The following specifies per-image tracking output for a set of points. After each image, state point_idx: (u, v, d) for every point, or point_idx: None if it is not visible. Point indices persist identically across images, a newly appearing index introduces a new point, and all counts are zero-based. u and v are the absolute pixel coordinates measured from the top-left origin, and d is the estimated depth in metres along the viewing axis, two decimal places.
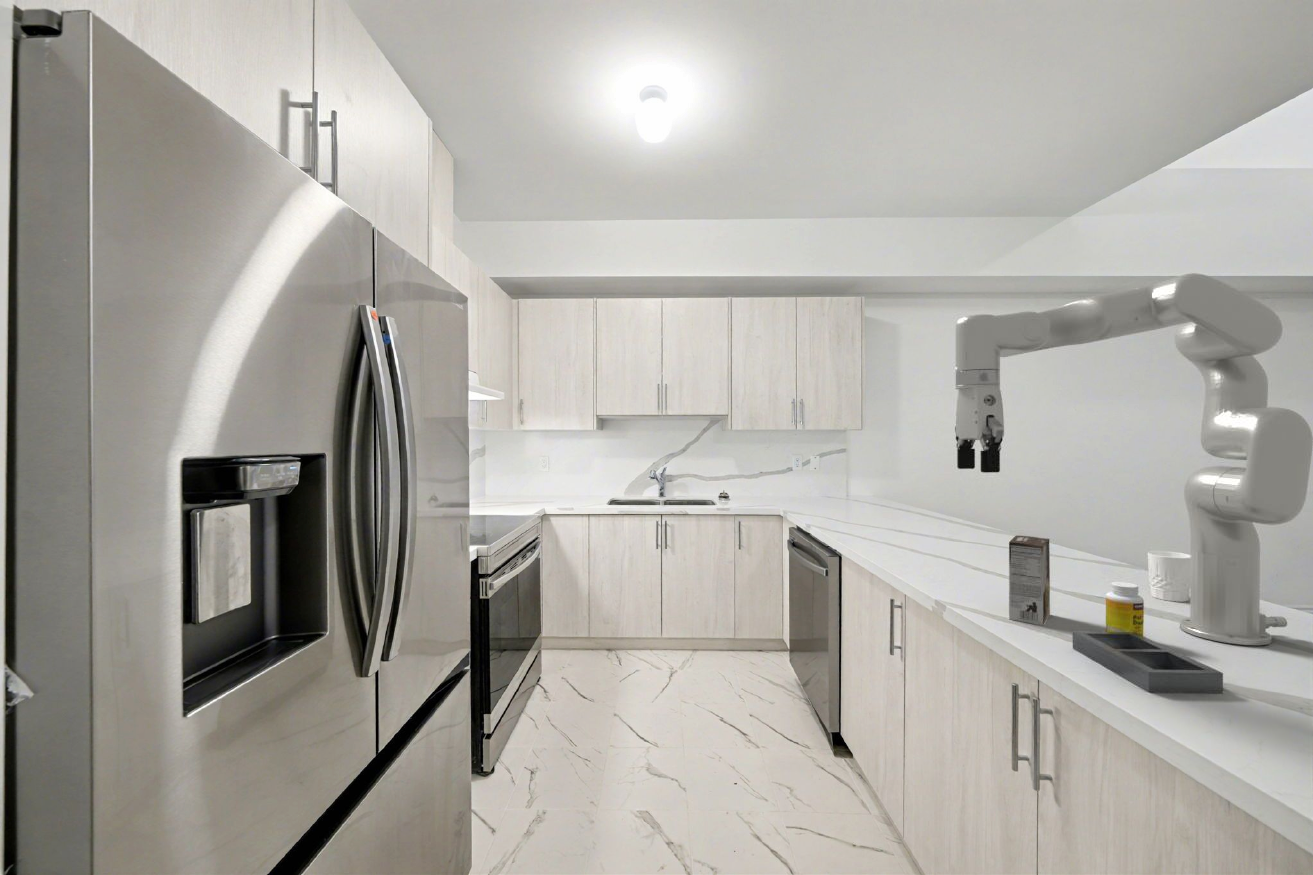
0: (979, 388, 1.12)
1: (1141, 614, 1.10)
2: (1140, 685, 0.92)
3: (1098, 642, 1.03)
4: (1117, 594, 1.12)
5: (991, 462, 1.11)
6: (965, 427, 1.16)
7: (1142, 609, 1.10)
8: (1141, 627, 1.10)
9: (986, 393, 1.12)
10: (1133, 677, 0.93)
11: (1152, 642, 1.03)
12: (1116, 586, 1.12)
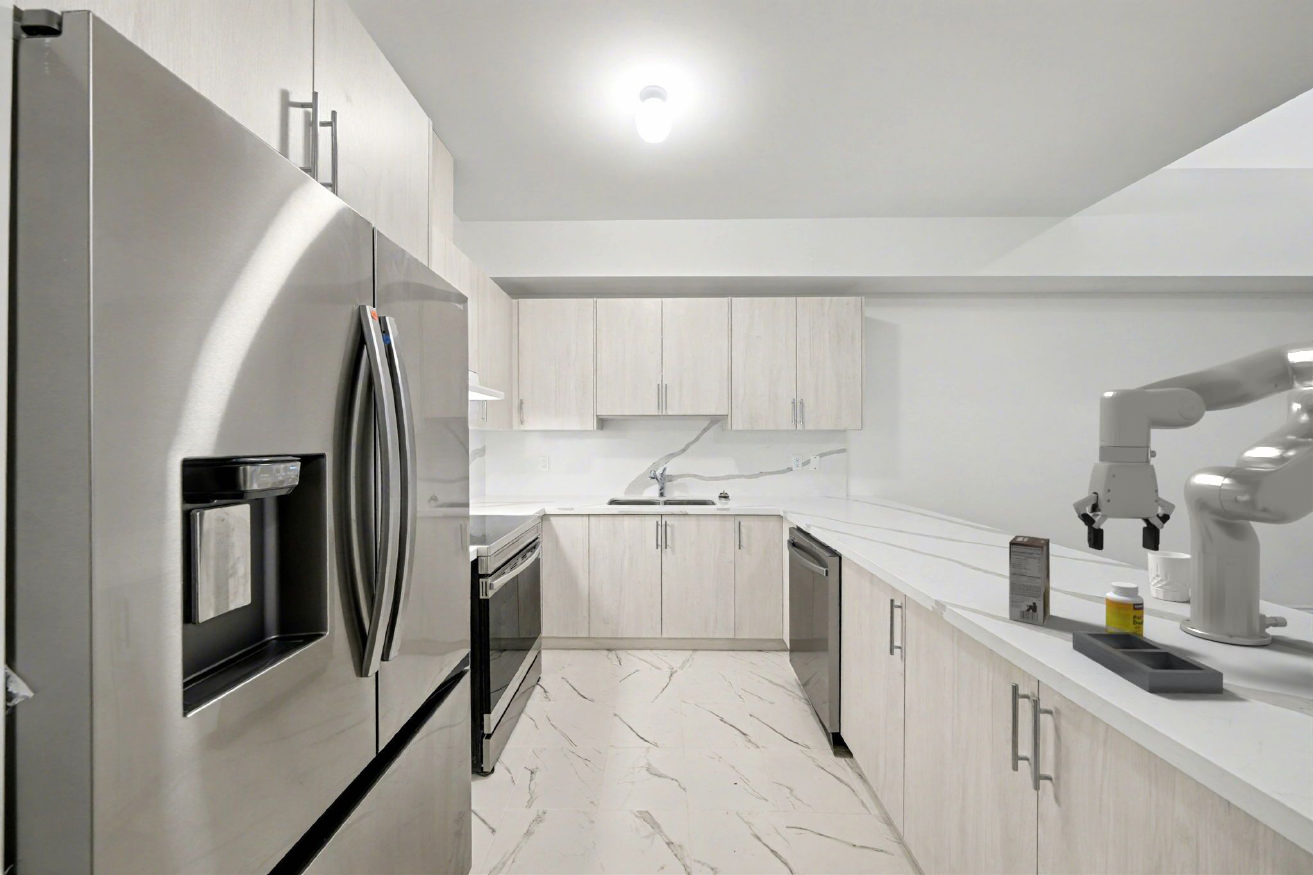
0: (1153, 466, 1.10)
1: (1141, 614, 1.10)
2: (1140, 685, 0.92)
3: (1098, 642, 1.03)
4: (1117, 594, 1.12)
5: None
6: (1133, 505, 1.10)
7: (1142, 609, 1.10)
8: (1141, 627, 1.10)
9: None
10: (1133, 677, 0.93)
11: (1152, 642, 1.03)
12: (1116, 586, 1.12)
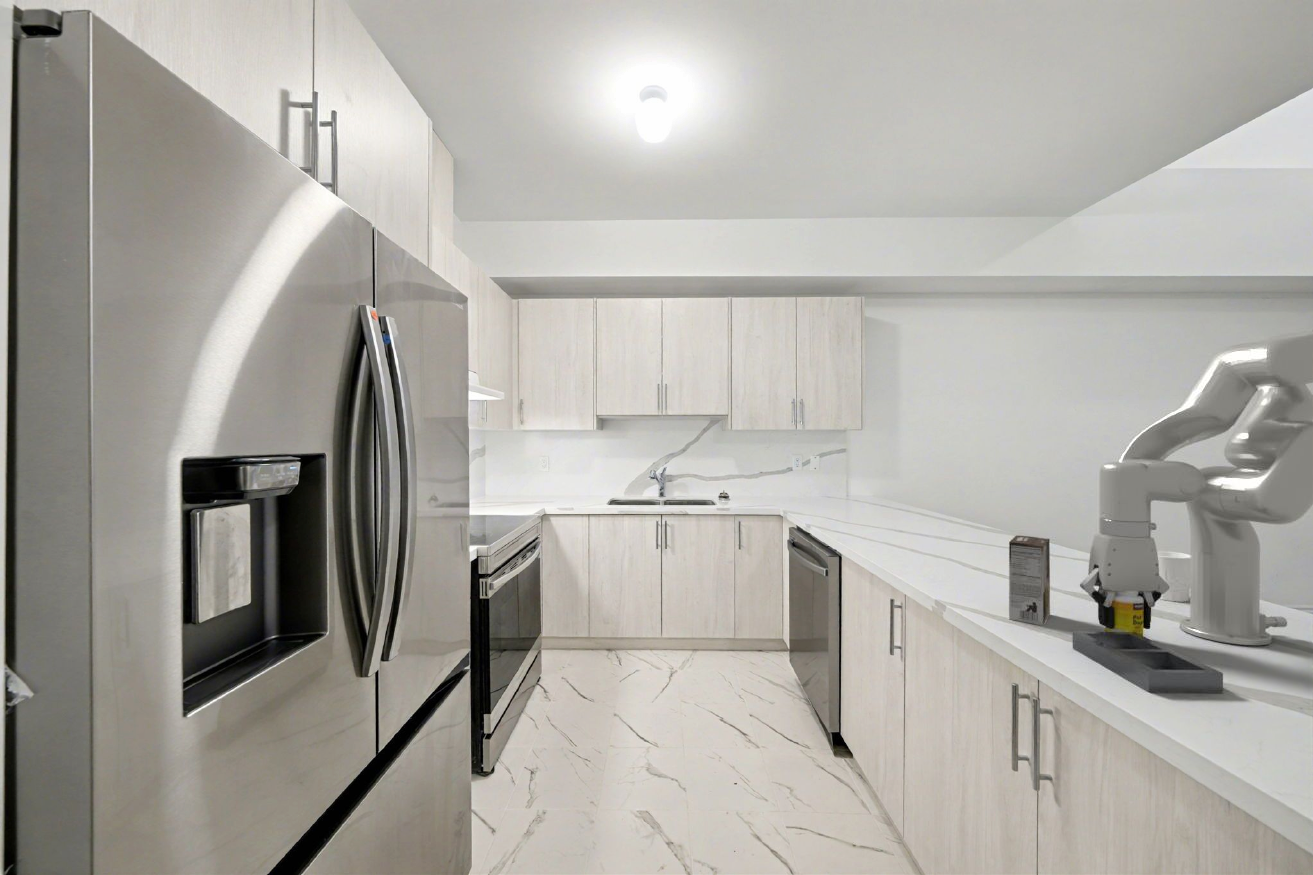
0: (1153, 539, 1.11)
1: (1141, 614, 1.10)
2: (1140, 685, 0.92)
3: (1098, 642, 1.03)
4: (1117, 594, 1.12)
5: None
6: (1133, 579, 1.10)
7: (1142, 609, 1.10)
8: (1141, 627, 1.10)
9: None
10: (1133, 677, 0.93)
11: (1152, 642, 1.03)
12: None
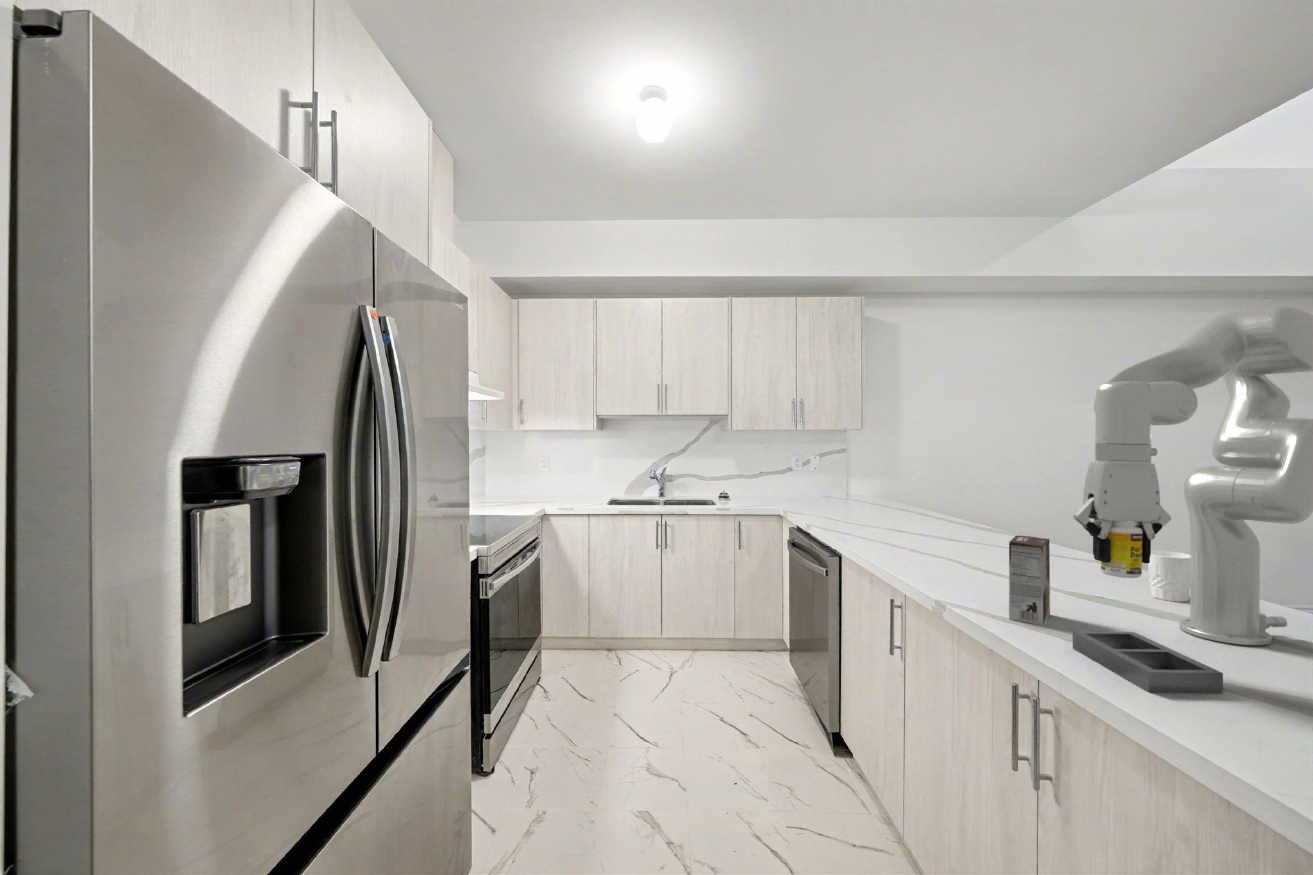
0: (1154, 465, 1.01)
1: (1139, 546, 1.01)
2: (1140, 685, 0.92)
3: (1098, 642, 1.03)
4: (1113, 525, 1.03)
5: None
6: (1132, 508, 1.01)
7: (1141, 540, 1.01)
8: (1139, 560, 1.01)
9: None
10: (1133, 677, 0.93)
11: (1152, 642, 1.03)
12: None
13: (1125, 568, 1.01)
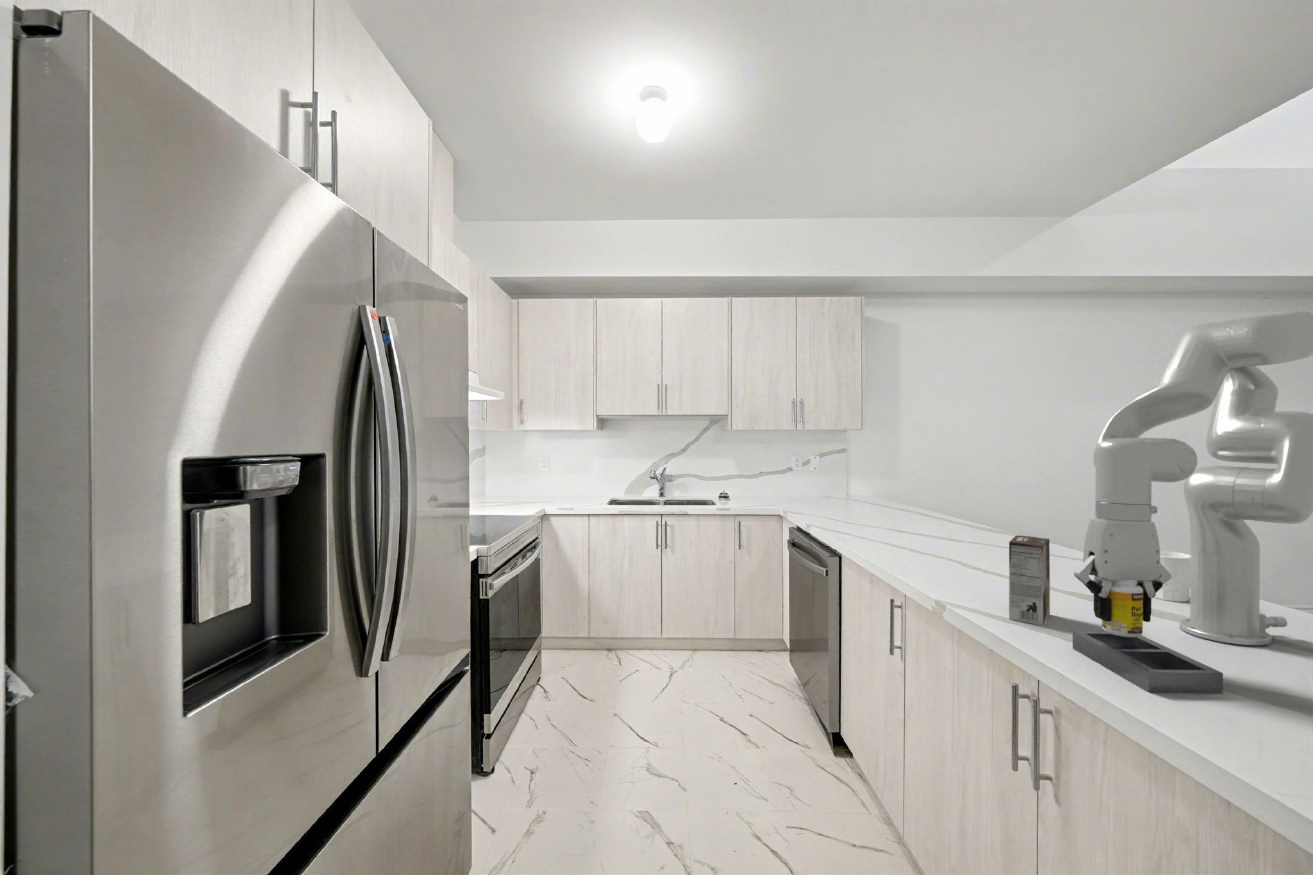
0: (1154, 524, 1.01)
1: (1140, 605, 1.01)
2: (1140, 685, 0.92)
3: (1098, 642, 1.03)
4: (1114, 584, 1.03)
5: None
6: (1132, 567, 1.01)
7: (1141, 600, 1.01)
8: (1140, 619, 1.01)
9: None
10: (1133, 677, 0.93)
11: (1152, 642, 1.03)
12: None
13: (1127, 627, 1.01)
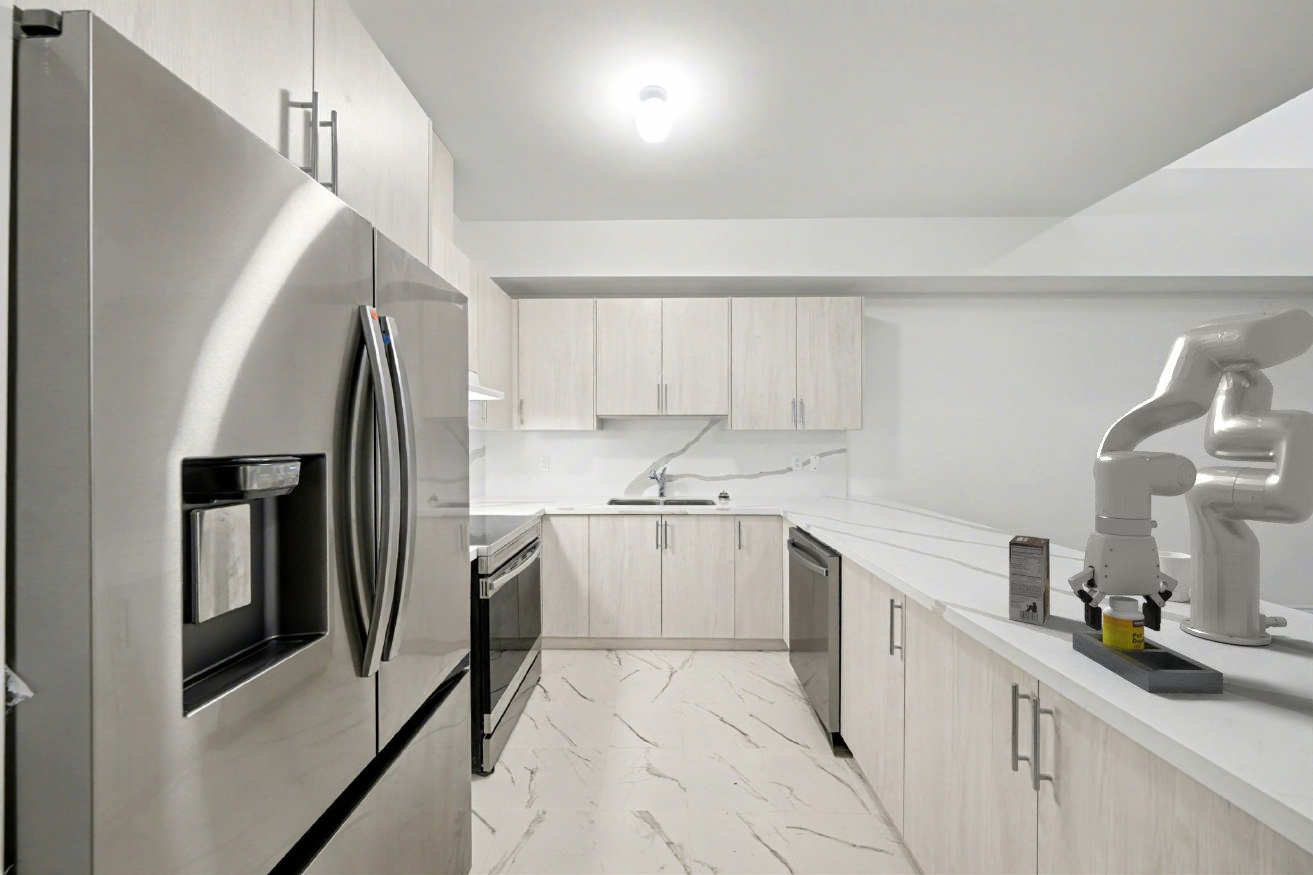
0: (1154, 538, 1.01)
1: (1141, 632, 1.01)
2: (1140, 685, 0.92)
3: (1098, 642, 1.03)
4: (1115, 610, 1.03)
5: None
6: (1132, 582, 1.01)
7: (1142, 626, 1.01)
8: (1141, 646, 1.01)
9: None
10: (1133, 677, 0.93)
11: (1152, 642, 1.03)
12: (1114, 600, 1.03)
13: None
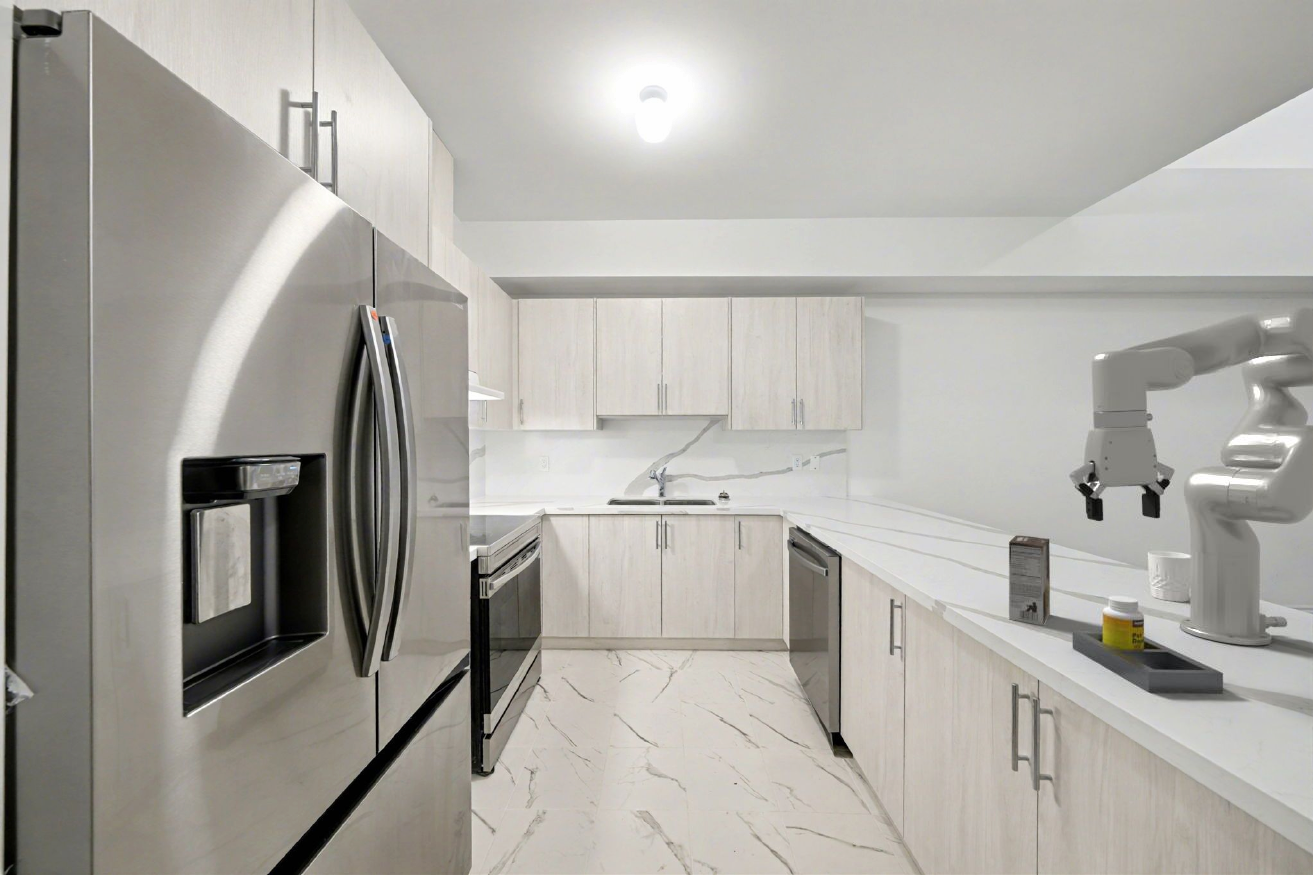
0: (1150, 430, 1.05)
1: (1141, 632, 1.01)
2: (1140, 685, 0.92)
3: (1098, 642, 1.03)
4: (1115, 610, 1.03)
5: None
6: (1131, 472, 1.05)
7: (1142, 626, 1.01)
8: (1141, 646, 1.01)
9: None
10: (1133, 677, 0.93)
11: (1152, 642, 1.03)
12: (1114, 601, 1.03)
13: None
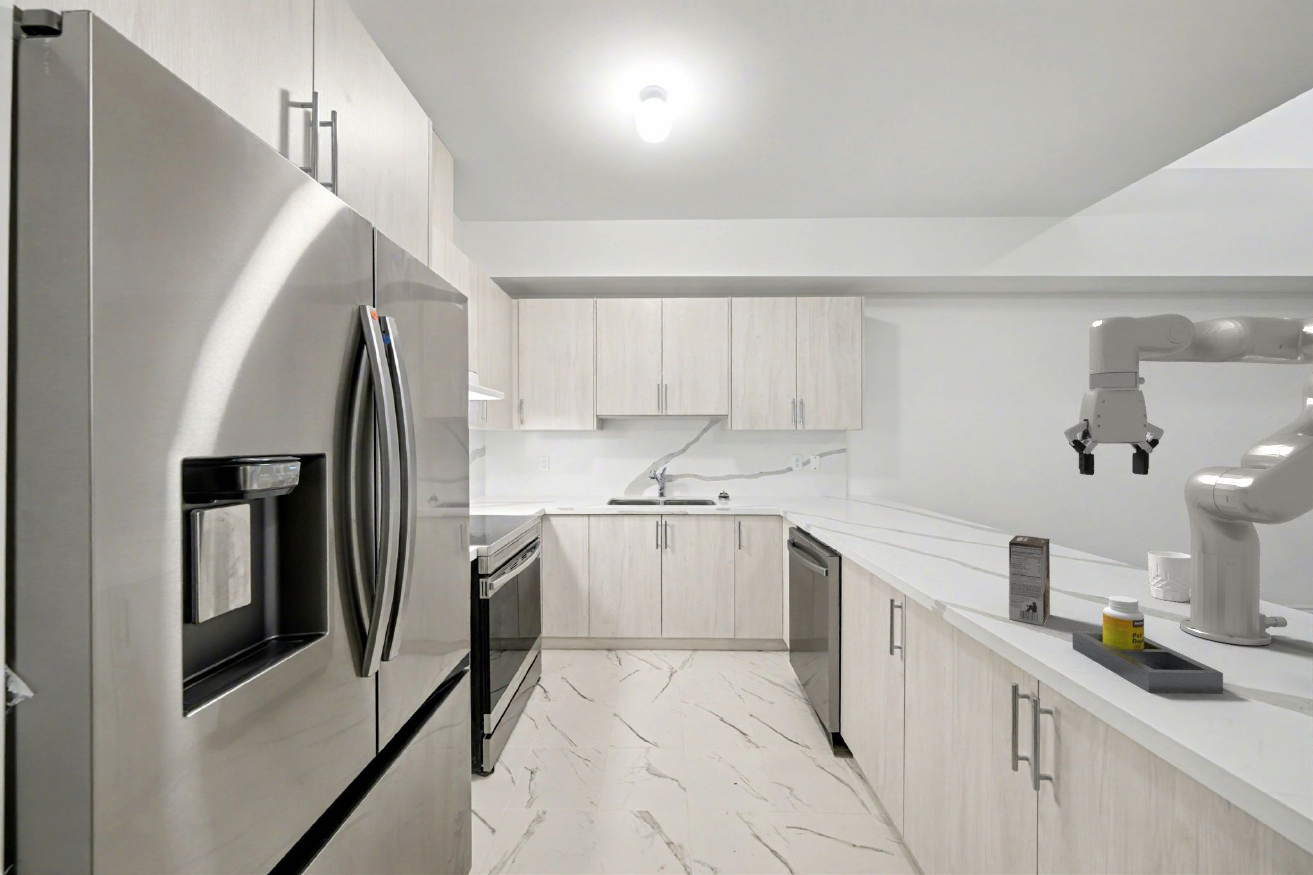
0: (1142, 392, 1.13)
1: (1141, 632, 1.01)
2: (1140, 685, 0.92)
3: (1098, 642, 1.03)
4: (1115, 610, 1.03)
5: None
6: (1122, 430, 1.13)
7: (1142, 626, 1.01)
8: (1141, 646, 1.01)
9: None
10: (1133, 677, 0.93)
11: (1152, 642, 1.03)
12: (1114, 601, 1.03)
13: None
